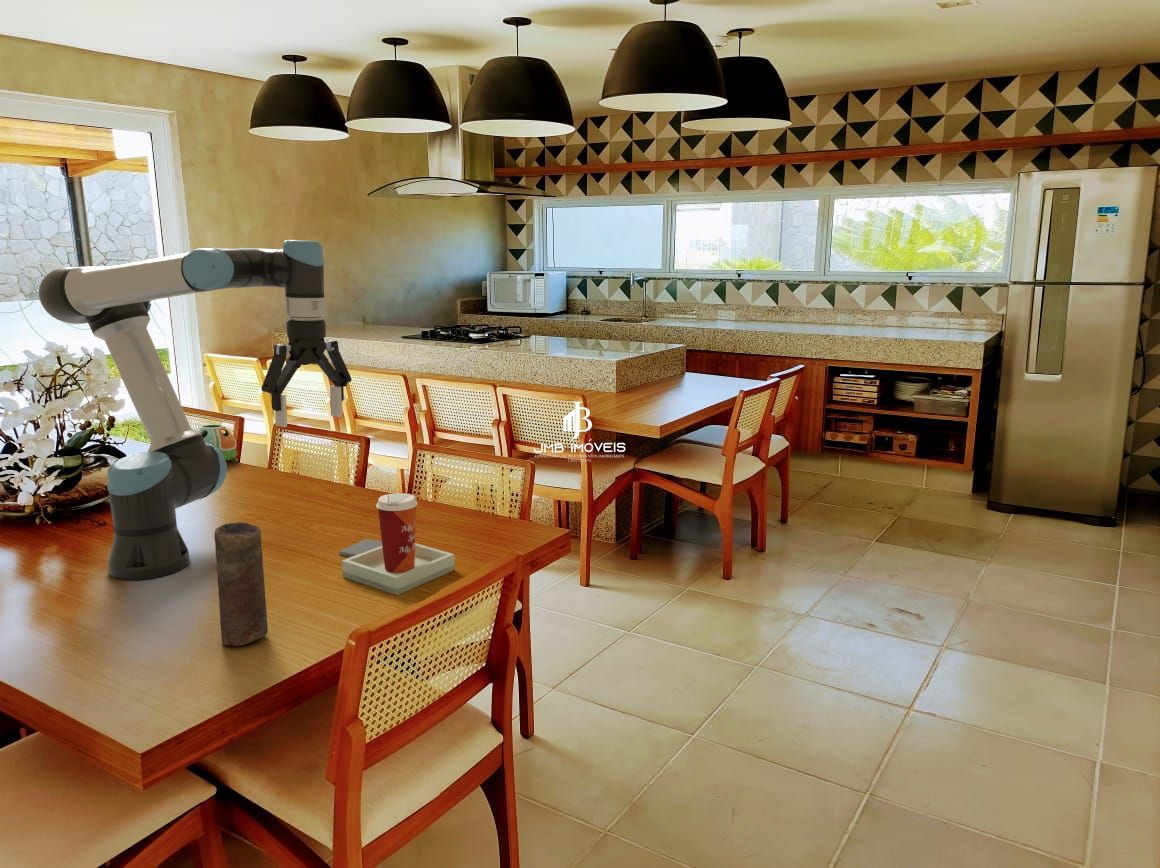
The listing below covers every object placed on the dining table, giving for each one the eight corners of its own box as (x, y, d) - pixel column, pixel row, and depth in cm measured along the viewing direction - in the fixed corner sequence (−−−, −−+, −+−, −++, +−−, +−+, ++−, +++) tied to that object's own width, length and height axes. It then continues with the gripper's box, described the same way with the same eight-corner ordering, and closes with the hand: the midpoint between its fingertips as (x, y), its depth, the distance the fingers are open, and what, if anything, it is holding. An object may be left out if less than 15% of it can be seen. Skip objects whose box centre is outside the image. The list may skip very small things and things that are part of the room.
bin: (397, 595, 160) (396, 578, 159) (342, 576, 169) (341, 560, 168) (454, 570, 173) (454, 554, 172) (401, 554, 182) (400, 538, 181)
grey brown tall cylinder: (255, 625, 147) (246, 518, 142) (278, 638, 142) (269, 527, 138) (213, 641, 141) (202, 529, 136) (235, 654, 136) (225, 538, 132)
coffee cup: (415, 575, 167) (412, 504, 163) (374, 574, 167) (371, 503, 163) (423, 560, 175) (421, 492, 171) (385, 559, 175) (381, 491, 172)
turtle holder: (196, 456, 267) (193, 420, 264) (246, 459, 263) (243, 423, 261) (169, 465, 255) (165, 428, 253) (221, 469, 251) (217, 431, 249)
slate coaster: (372, 561, 177) (372, 557, 177) (339, 554, 181) (339, 551, 181) (398, 548, 185) (398, 544, 185) (366, 542, 189) (365, 538, 189)
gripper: (262, 323, 155) (267, 433, 160) (366, 316, 175) (368, 415, 180) (239, 319, 159) (244, 427, 164) (343, 314, 179) (346, 410, 184)
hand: (309, 421), depth 172 cm, fingers open, 13 cm apart
